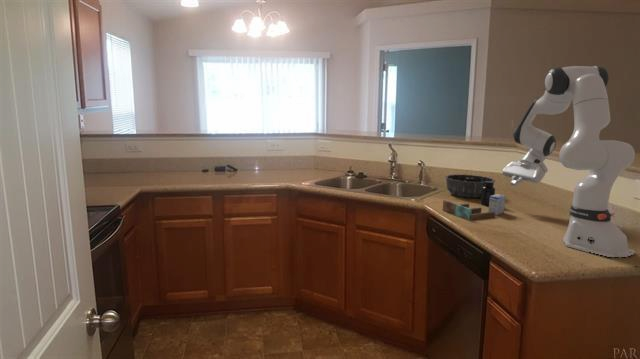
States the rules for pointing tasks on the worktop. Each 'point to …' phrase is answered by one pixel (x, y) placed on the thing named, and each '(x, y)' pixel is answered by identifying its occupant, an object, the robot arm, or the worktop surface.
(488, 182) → the supplement bottle
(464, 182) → the bundt pan
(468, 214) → the slot comb
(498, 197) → the medicine box
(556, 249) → the worktop surface
